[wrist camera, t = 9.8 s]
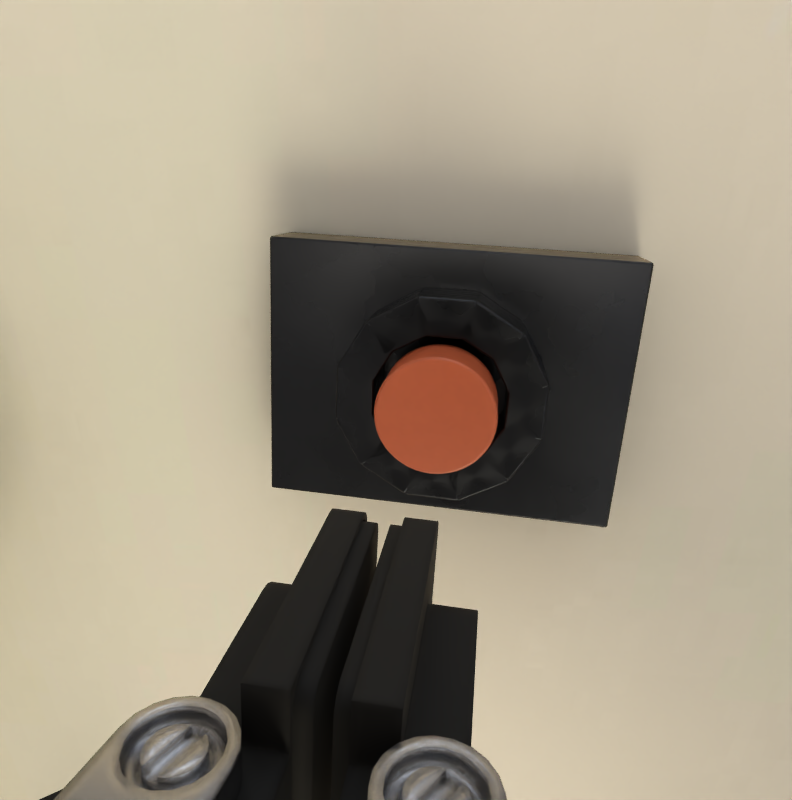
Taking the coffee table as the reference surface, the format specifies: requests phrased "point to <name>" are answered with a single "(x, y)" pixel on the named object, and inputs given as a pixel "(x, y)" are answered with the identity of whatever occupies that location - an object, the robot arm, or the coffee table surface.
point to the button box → (472, 331)
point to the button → (437, 409)
